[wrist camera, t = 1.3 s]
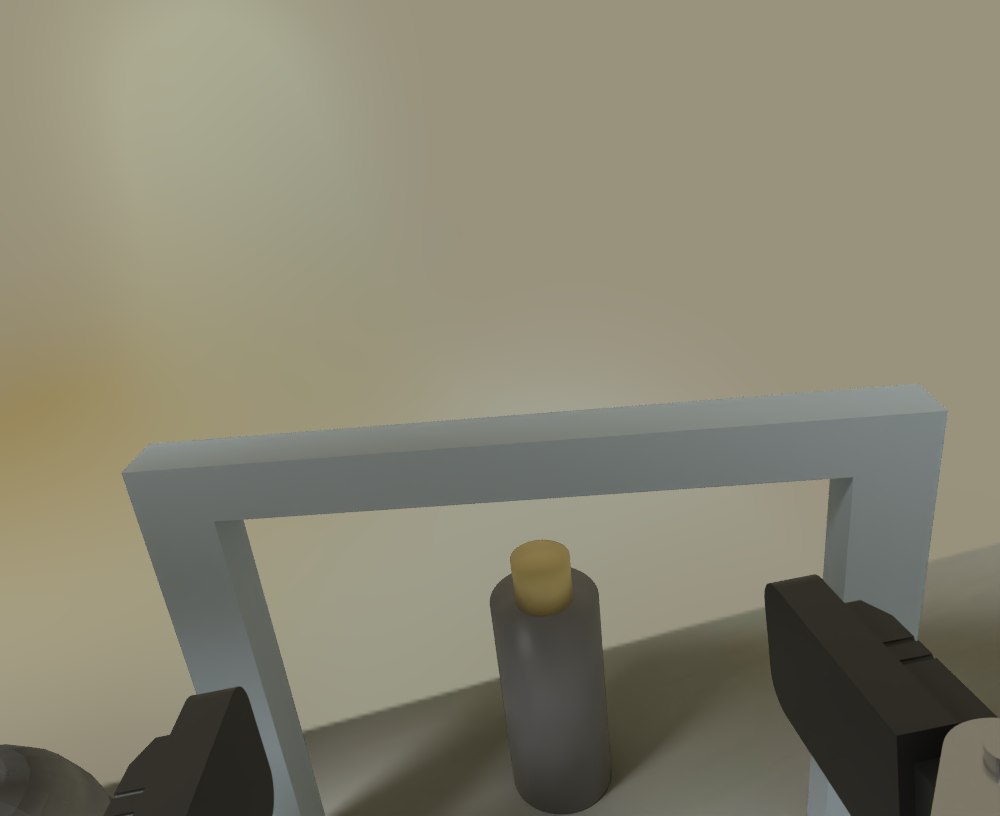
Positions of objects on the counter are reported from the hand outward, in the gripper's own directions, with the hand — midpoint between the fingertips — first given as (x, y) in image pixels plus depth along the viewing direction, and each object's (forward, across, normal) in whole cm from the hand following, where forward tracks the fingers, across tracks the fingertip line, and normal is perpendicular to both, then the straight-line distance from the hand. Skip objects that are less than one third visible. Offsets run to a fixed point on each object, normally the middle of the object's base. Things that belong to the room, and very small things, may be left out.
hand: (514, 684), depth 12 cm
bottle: (+21, -1, +20) cm, 29 cm away
